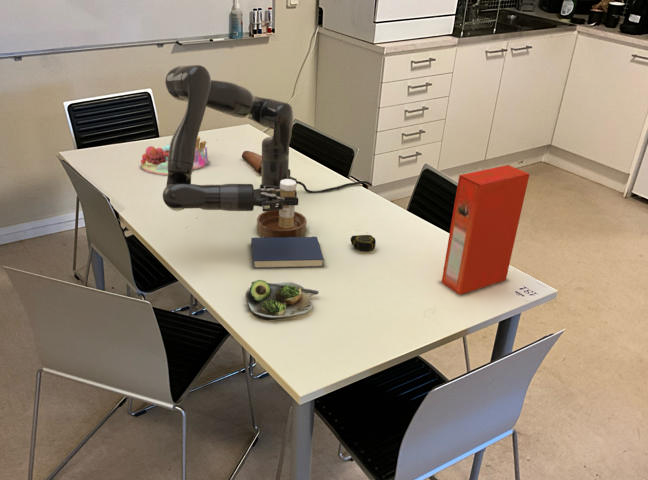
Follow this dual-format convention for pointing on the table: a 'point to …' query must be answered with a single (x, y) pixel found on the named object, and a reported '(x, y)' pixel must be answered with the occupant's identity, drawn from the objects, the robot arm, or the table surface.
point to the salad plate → (278, 300)
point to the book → (286, 252)
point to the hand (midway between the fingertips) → (297, 197)
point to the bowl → (271, 228)
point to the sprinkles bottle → (288, 210)
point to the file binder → (483, 227)
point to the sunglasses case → (253, 160)
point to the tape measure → (363, 242)
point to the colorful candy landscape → (158, 158)
